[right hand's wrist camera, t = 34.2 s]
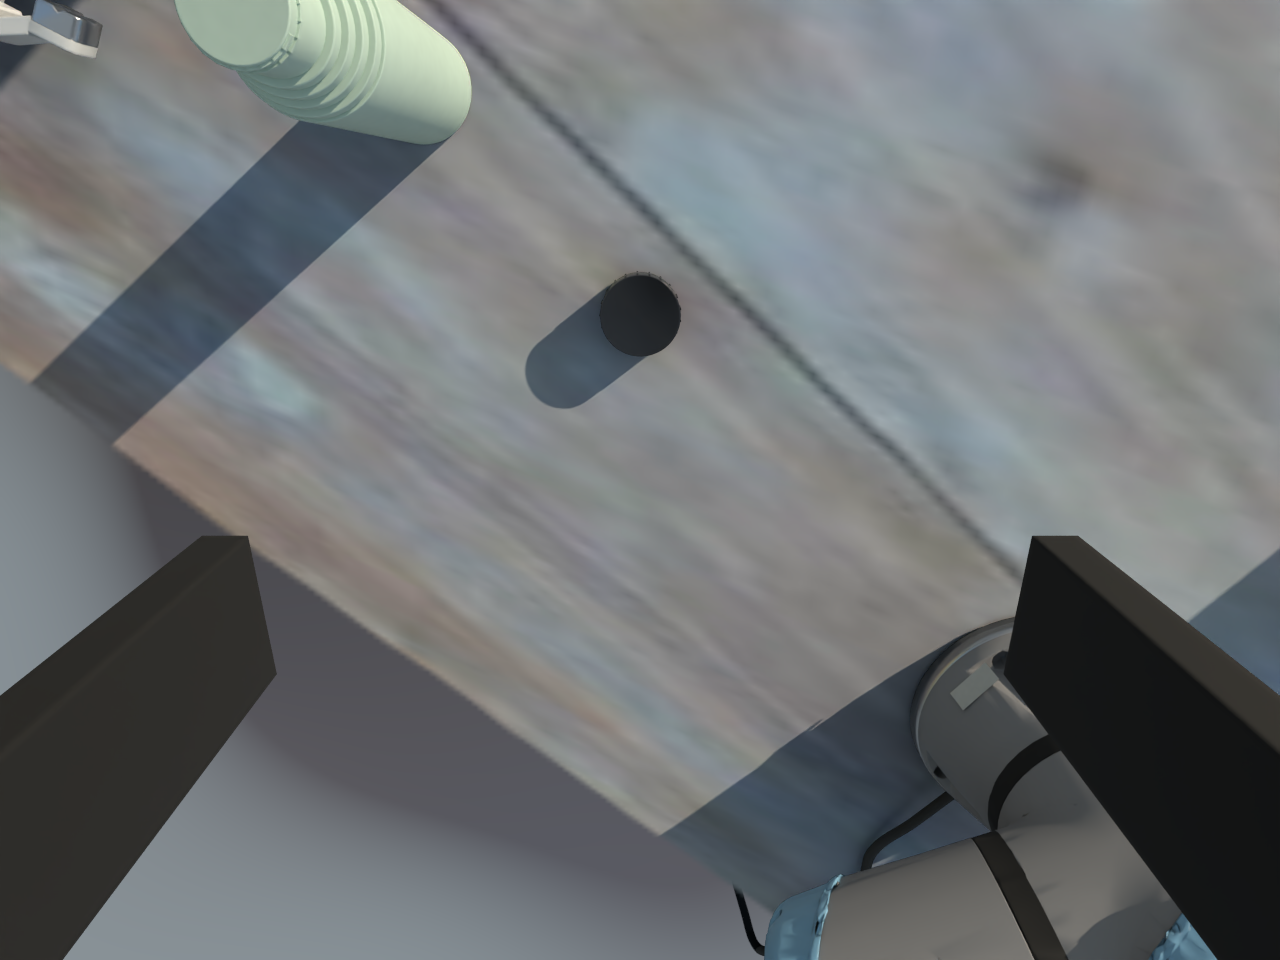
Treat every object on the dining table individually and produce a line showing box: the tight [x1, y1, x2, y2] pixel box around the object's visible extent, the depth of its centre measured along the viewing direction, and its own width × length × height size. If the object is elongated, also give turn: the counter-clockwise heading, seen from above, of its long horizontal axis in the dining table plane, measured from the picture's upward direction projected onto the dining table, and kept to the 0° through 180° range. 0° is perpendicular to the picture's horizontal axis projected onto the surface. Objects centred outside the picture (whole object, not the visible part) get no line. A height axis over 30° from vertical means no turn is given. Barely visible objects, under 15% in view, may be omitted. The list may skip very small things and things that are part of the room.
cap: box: [600, 271, 681, 356], centre depth 42 cm, size 5×5×2 cm
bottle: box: [174, 0, 471, 145], centre depth 30 cm, size 6×6×19 cm
